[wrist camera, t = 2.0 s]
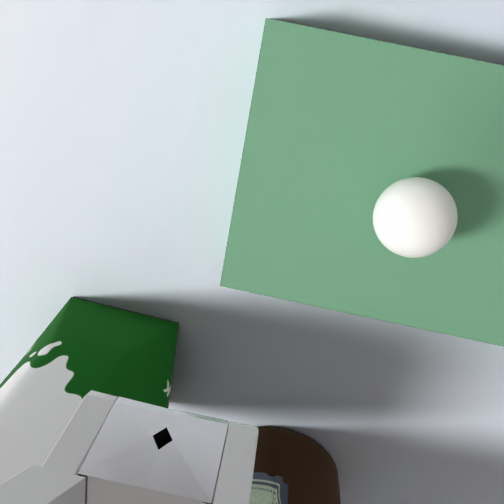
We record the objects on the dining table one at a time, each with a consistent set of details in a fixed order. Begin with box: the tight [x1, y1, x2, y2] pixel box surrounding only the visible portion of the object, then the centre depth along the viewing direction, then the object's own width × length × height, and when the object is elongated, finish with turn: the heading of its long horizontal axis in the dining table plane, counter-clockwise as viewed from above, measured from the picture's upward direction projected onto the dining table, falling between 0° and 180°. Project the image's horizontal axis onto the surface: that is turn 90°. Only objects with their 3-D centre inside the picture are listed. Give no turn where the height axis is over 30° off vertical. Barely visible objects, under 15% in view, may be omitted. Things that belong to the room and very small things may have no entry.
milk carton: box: [0, 297, 179, 484], centre depth 23 cm, size 9×9×20 cm
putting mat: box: [220, 19, 504, 346], centre depth 24 cm, size 22×13×3 cm, turn 80°
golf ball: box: [373, 177, 458, 258], centre depth 21 cm, size 4×4×4 cm
